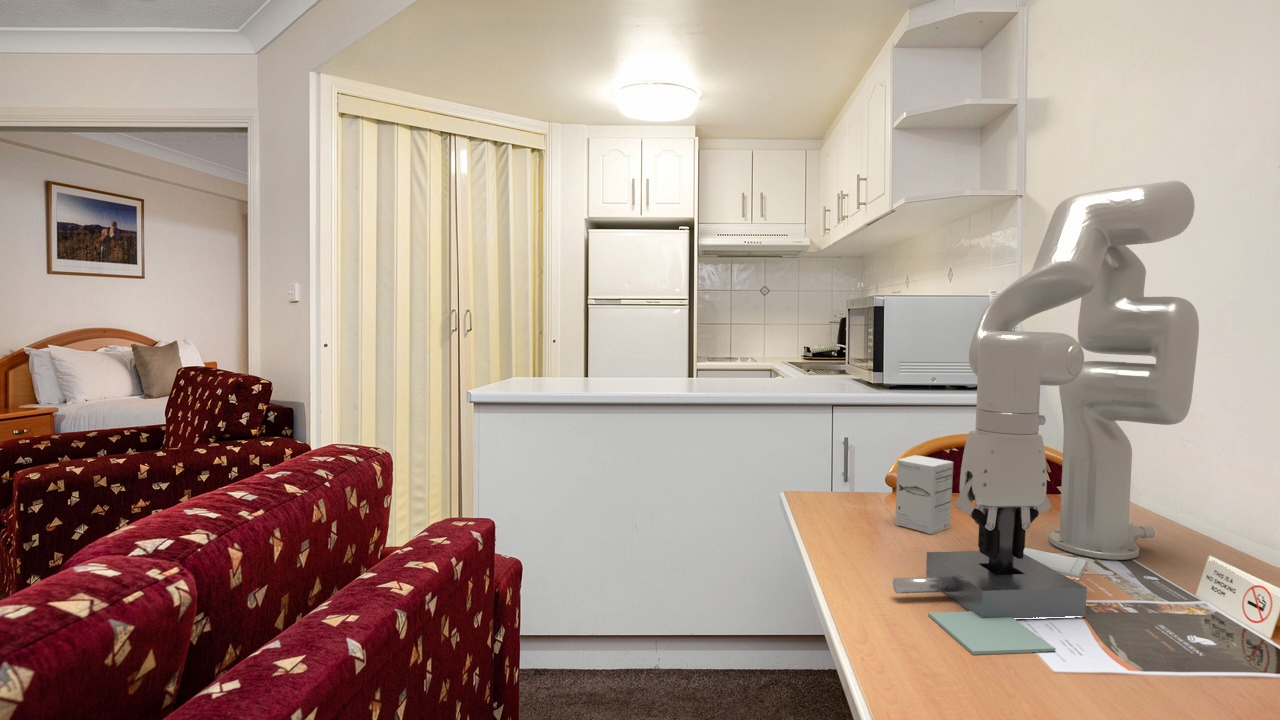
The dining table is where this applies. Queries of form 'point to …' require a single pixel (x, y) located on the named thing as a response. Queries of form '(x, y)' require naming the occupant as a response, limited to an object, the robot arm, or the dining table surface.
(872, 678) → the dining table surface
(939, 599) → the dining table surface
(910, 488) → the supplement box
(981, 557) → the block
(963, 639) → the mat
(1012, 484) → the robot arm
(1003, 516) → the grey cylinder
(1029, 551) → the hard drive
